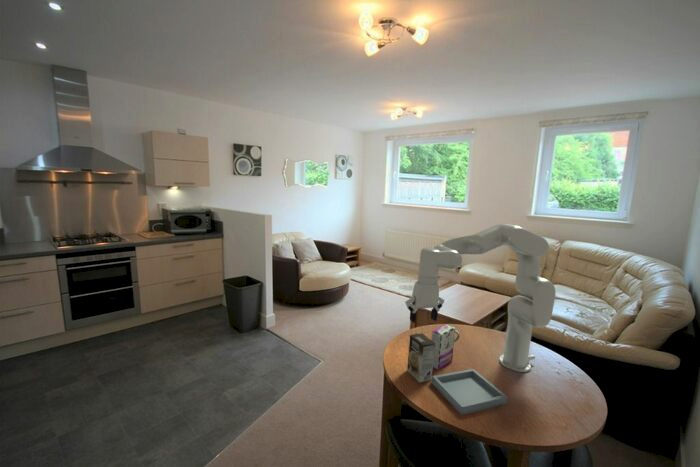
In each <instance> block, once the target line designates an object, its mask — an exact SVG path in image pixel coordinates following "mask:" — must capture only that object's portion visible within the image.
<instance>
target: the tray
mask: <svg viewBox="0 0 700 467" xmlns="http://www.w3.org/2000/svg"><path fill="white" fill-rule="evenodd" d="M431 385H433V386H434V387H435V389H437V391H438V392H439V393H440V394H441V395H442V396H443V398H445V399H446V400H447V401H448V402H449V403H450V405H451V406H452V407H453V408H454V409H455V410H456V411H457V413H459V414H460V415H461V416H464V415H469V414H471V413H476V412H479V411H483V410H487V409H488V410H489V409H493V408H497V407H501V406H505V405H507V404H508V399H509V397H508V395H506V394H505V393H504V392H502V391H501V390H500V389H499V388H498V387H496V386H495V385H494V384H493V383H492V382H490V381H489V380H487V378H485V376H483V375H482V374H480V372H478V371H477V370H476V369H474V368H470V369H466V370H465V369H464V370H459V371H453V372H448V373H442V374H437V375H432V379H431Z"/></svg>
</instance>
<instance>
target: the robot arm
mask: <svg viewBox="0 0 700 467" xmlns="http://www.w3.org/2000/svg"><path fill="white" fill-rule="evenodd" d="M501 246H507V247H509V248H510V249H511V251H513V253H514V254H515V256H516V258H517V269H516V275H515V281H514V288H515V290H516V291H517V292H518V293H520V294H522V295H520V294H518V295H514V296H512V297H510V299H509V300H508V303H507V317H508V320H507V321H508V322H507V327H506V335H505V336H506V337H505V343H504V351H503V354H502V355H500V356H499V359H498V361H499V363H500V364H501V365H503V367H504V368H506V369H507V370H511V371H513V372H517V373H527V372H529V371H531V367H532V366H531V364H530V361H533V360H535V359H536V357H535V355H533V354H530V347H531V340H532V334H533V327H535V328H537V329H542V328H545V327H547V326H548V325H549V324H550V322H551V320H552V316H553V311H554V305H555V300H556V292H557V291H556V288H555V285H554V283H553V282H552V281H551V280H549V279H547V278H545V277H544V278H543V276H542V277H541V265H542V264H541V258H542V257H544V256H546V255H547V253H548V252H549V248H550V247H549V246H550V245H549V243H548V241H547V239H545V238H544V237H543V236H541V235H539V234H537V233H534V232H532V231H530V230H528V229H526V228H524V227H521V226H518V225H513V224H508V223H498V224H495V225H493V226H490V227H489V228H486V229H484V230H481V231H479V232H477V233H474V234H470V235H465V236H460V237H456V238H451V239H448V240H445V241H443V242H441V243H439V244H437V245H435V246H434V247H423V248H422V249H421V250H420V256H419V265H418V275H417V281H415V283H414V285H413V288H412V289H413V290H412V295H411V298H409V299H407V300H406V301H405V306H406V308H407V309H408V311H409V312H410V313H409V320H410V321H411V322H412V323H413V324H416V320H417V311H418V310H420V309H431V313H430V319H431V320H433V321H434V322H436V321H437V319H438V312H440V309H441V308H442V307H443V305H444V303H445V299H443V298H442V297H440V288H439V287H440V286H439V282H438V281H439V280H440V279H441V276H439V270H440V269H441V268H442V269H448V270H453V269H457V268H459V267H460V266H461V265H462V263H463V257H462V255H483V254H486V253H489V252H490V251H492V250H495V249H497V248H499V247H501ZM523 295H524V296H523ZM411 304H412V305H411ZM529 354H530V355H529Z"/></svg>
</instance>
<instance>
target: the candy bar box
mask: <svg viewBox="0 0 700 467" xmlns="http://www.w3.org/2000/svg"><path fill="white" fill-rule="evenodd" d="M455 330H456V327H454V326H451V325H449V324H447V323H445V324H444V325H441V326H439V327H437V328H435V329H433V330H432V331H431V340H432V341H433V342H434V343H436V344H435V352H434V361H433V369H435V370H437V371H439V370H441V369H443V368H444V367H446V366H447V365H449V364H451V363H452V362H453V358H454V357H453V356H454V345H455V343H454V339H455V335H456V333H455Z"/></svg>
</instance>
